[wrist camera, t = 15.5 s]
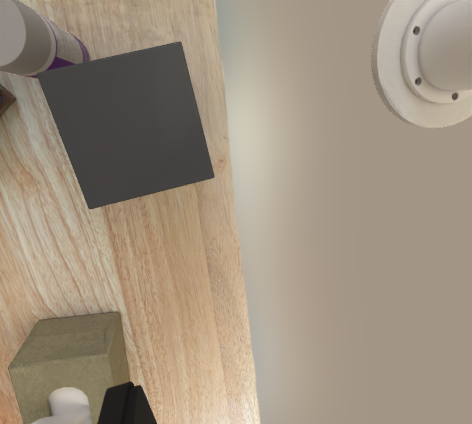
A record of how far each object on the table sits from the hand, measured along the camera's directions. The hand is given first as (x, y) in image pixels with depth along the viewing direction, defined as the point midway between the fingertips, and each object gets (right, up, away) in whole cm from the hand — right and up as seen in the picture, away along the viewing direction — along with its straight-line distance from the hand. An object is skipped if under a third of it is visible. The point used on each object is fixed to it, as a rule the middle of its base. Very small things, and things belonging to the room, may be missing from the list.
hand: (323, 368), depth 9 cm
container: (-19, +19, +25) cm, 37 cm away
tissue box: (-22, -17, +36) cm, 46 cm away
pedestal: (-11, +14, +28) cm, 33 cm away
